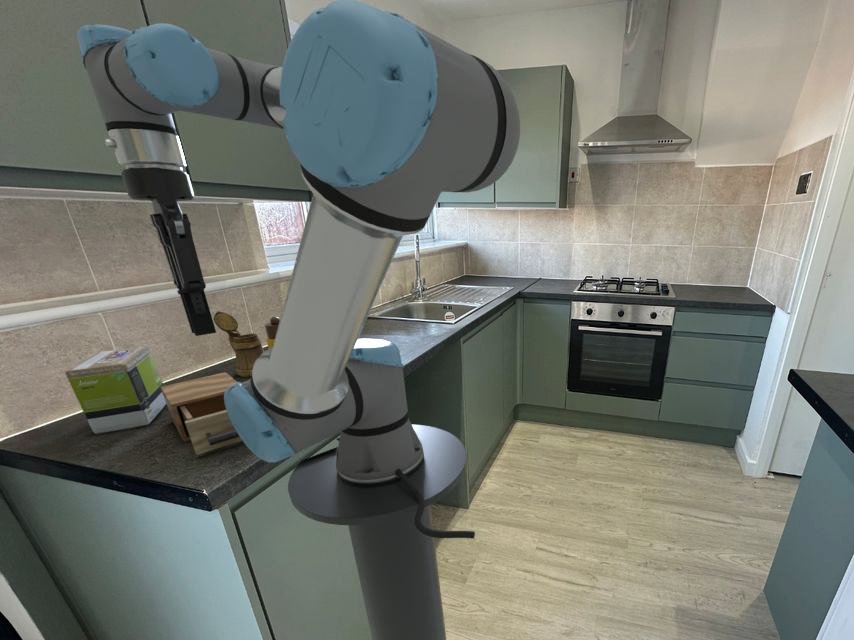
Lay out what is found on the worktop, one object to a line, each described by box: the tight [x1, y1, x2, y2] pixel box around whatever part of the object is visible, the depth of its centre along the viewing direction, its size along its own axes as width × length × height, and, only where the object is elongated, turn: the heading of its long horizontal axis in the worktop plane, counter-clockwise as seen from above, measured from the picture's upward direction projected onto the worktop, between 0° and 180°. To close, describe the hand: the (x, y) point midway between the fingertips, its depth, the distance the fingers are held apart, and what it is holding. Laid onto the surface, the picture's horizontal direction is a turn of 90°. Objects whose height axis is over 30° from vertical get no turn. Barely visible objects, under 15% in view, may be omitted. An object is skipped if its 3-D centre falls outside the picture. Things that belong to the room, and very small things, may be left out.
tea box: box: [64, 345, 167, 435], centre depth 94 cm, size 15×10×15 cm
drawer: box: [178, 395, 243, 456], centre depth 83 cm, size 18×11×7 cm, turn 45°
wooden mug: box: [213, 310, 265, 378], centre depth 122 cm, size 9×14×18 cm, turn 70°
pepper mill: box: [264, 316, 280, 350], centre depth 96 cm, size 5×5×22 cm
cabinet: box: [161, 371, 237, 443], centre depth 91 cm, size 14×12×8 cm
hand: (204, 332), depth 67 cm, fingers closed
